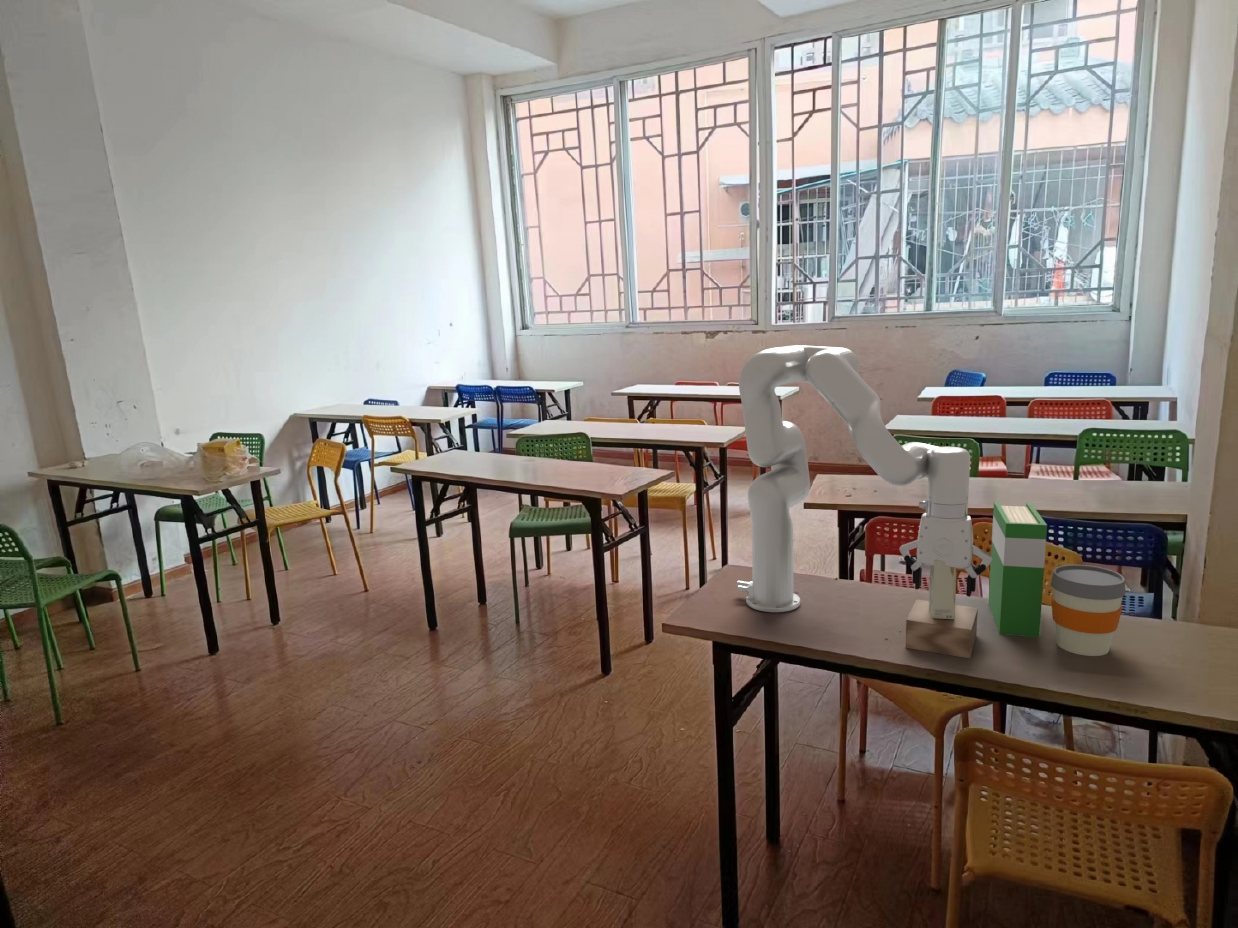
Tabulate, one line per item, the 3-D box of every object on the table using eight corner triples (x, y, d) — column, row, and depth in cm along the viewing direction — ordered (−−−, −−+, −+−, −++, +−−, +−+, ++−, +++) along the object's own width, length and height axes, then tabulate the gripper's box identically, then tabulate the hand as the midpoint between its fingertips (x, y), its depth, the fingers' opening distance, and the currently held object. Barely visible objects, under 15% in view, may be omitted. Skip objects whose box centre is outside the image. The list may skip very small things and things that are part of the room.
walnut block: (905, 647, 156) (906, 619, 154) (915, 625, 166) (916, 599, 165) (969, 658, 150) (971, 629, 148) (976, 635, 160) (977, 608, 159)
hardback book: (988, 602, 176) (994, 501, 172) (1024, 605, 174) (1030, 503, 169) (999, 633, 160) (1005, 523, 155) (1039, 637, 158) (1047, 525, 153)
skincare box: (955, 620, 153) (958, 562, 151) (931, 619, 154) (934, 561, 152) (950, 608, 159) (953, 551, 157) (928, 606, 160) (930, 551, 158)
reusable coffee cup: (1035, 646, 154) (1040, 575, 151) (1061, 627, 161) (1066, 559, 159) (1106, 666, 144) (1112, 591, 141) (1129, 645, 152) (1136, 574, 149)
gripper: (897, 509, 153) (895, 590, 157) (993, 518, 145) (988, 603, 148) (904, 501, 160) (902, 578, 163) (996, 508, 151) (991, 590, 154)
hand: (943, 590), depth 156 cm, fingers open, 9 cm apart
